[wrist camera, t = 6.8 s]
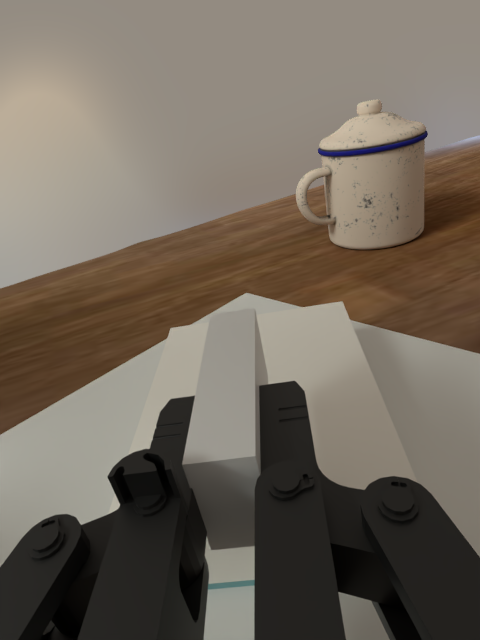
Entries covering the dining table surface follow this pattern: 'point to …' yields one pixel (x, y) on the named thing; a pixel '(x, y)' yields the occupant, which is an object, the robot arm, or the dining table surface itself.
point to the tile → (321, 396)
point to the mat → (126, 409)
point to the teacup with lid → (370, 180)
